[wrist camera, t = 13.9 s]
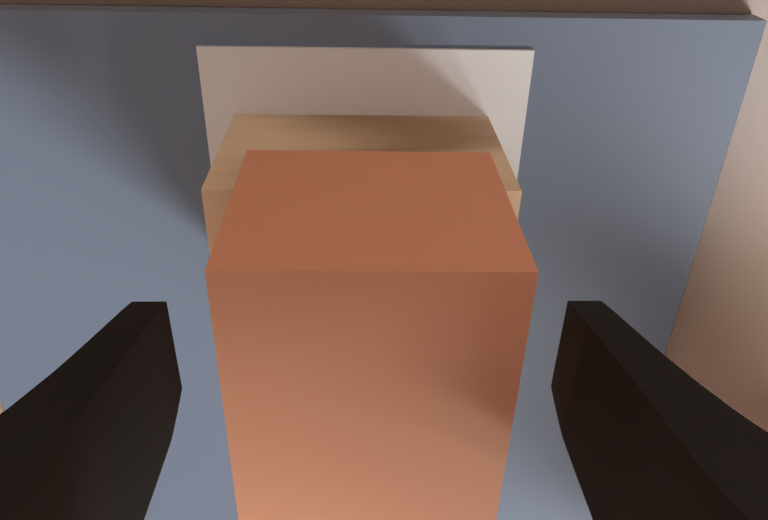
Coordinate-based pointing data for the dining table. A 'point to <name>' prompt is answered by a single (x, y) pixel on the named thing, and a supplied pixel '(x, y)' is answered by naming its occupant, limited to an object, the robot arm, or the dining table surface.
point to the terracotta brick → (369, 333)
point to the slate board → (349, 97)
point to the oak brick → (346, 146)
